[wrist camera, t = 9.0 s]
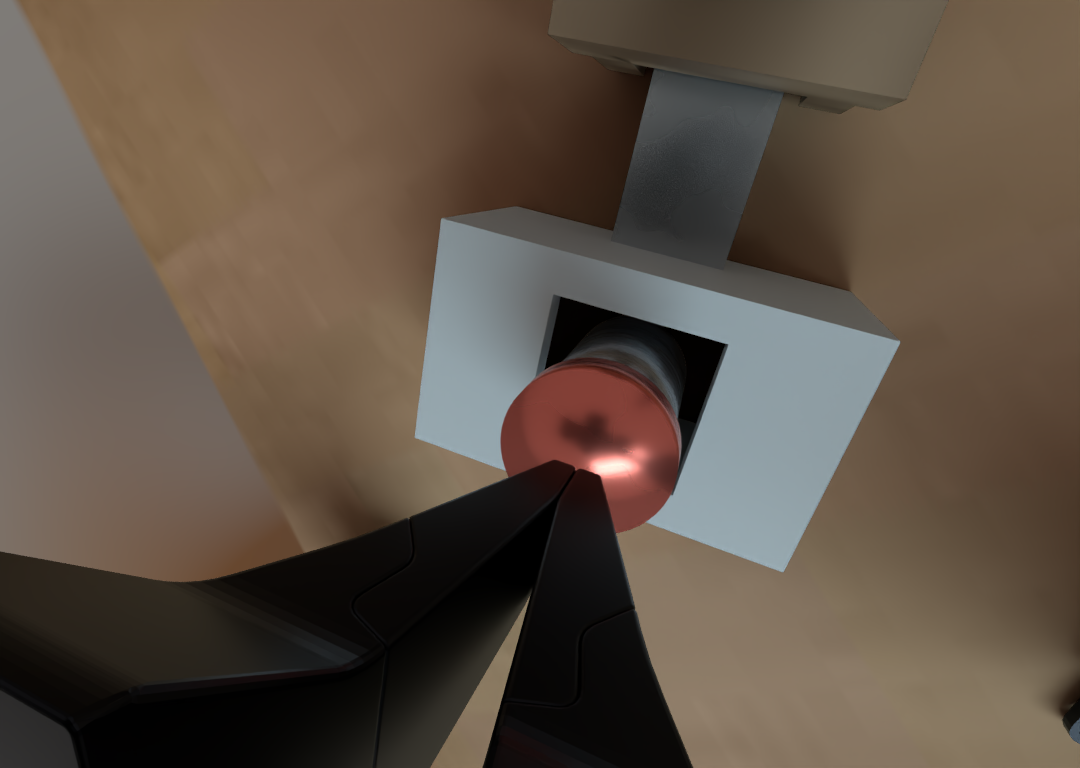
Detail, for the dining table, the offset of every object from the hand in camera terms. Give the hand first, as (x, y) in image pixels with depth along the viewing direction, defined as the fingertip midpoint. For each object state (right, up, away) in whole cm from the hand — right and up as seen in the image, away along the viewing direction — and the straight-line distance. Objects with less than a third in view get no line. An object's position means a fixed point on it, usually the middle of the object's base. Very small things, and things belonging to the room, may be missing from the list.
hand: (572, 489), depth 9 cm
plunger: (+2, +2, +5) cm, 6 cm away
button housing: (+3, +3, +8) cm, 9 cm away
